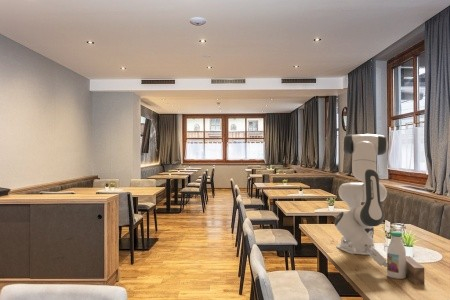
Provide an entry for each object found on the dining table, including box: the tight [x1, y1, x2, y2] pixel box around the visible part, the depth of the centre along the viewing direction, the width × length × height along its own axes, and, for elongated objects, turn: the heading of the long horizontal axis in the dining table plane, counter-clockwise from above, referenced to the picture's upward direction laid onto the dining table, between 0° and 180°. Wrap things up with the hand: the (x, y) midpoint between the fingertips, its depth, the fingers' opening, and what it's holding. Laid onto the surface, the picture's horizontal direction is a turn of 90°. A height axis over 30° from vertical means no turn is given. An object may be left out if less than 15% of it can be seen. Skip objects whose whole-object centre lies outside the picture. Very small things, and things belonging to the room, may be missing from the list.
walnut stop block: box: [406, 255, 425, 285], centre depth 165 cm, size 4×18×7 cm, turn 171°
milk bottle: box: [386, 231, 407, 280], centre depth 166 cm, size 8×8×20 cm
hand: (386, 265), depth 167 cm, fingers closed, pressing on milk bottle
